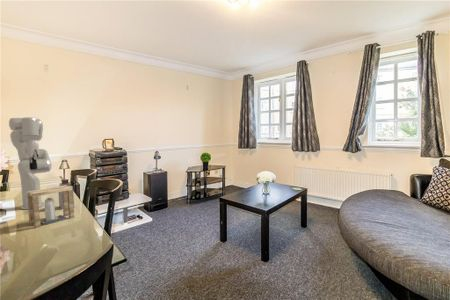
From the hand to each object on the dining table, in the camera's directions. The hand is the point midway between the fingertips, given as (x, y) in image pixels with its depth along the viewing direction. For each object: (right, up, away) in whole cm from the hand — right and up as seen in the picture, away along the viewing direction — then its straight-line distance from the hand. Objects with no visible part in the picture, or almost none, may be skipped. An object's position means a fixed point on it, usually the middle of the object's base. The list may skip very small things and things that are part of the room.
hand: (33, 169), depth 142 cm
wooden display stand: (+20, -27, -11) cm, 36 cm away
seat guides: (+20, -27, -11) cm, 36 cm away
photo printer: (+18, -28, -10) cm, 34 cm away
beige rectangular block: (+10, -26, +15) cm, 32 cm away
